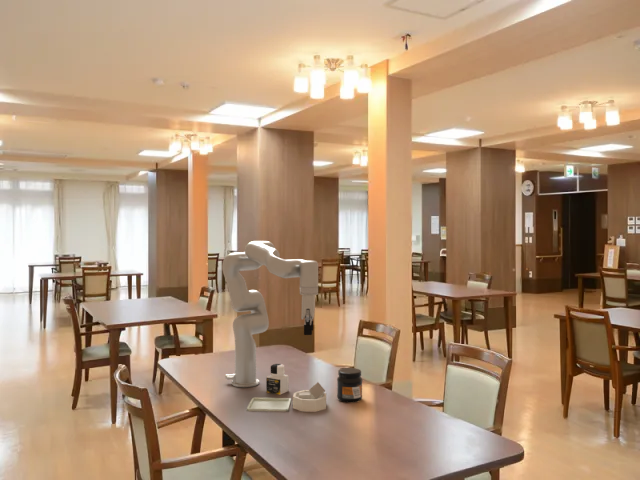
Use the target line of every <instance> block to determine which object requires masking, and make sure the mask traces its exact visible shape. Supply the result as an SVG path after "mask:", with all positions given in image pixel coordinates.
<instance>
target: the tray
mask: <svg viewBox="0 0 640 480" xmlns="http://www.w3.org/2000/svg"><path fill="white" fill-rule="evenodd" d="M291 403H292V397H252V398H251V400H250V401H249V403H248V405H247V407H246V412H281V413H282V412H284V413H285V412H289V409H290V405H291Z"/></svg>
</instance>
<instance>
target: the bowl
mask: <svg viewBox="0 0 640 480" xmlns="http://www.w3.org/2000/svg"><path fill="white" fill-rule="evenodd" d="M303 392H310V391H309V389H302V390H300V391H299V390H298V391H296V392H295V391H294V392H293V395H292V409H295V410H296V411H297V410H298V411H300V412H303V413H304V412H305V413H306V412H311V413H313V412H315V413H316V412H319V411H323V410H326V409H327V393H326V392H324V393H323V394H322V395H321V396H320V397H318V398H317V399H316V398H315V397H314V396H313V395H312V393H311V399H301V398H299V393H303Z"/></svg>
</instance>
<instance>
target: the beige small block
mask: <svg viewBox="0 0 640 480" xmlns="http://www.w3.org/2000/svg"><path fill="white" fill-rule="evenodd" d="M308 390H309V391H310V392H311V393H312V395H313V396H314V397H315V398H316V399H317V398H318V397H320V396H321V395H322V394H323V393H326V390H325V388H324V387H323V386H322V385H321V384H320V382H319V381H317V382H316V383H315V384H314V385H313V386H312V387H310V388H309V389H308Z"/></svg>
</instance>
